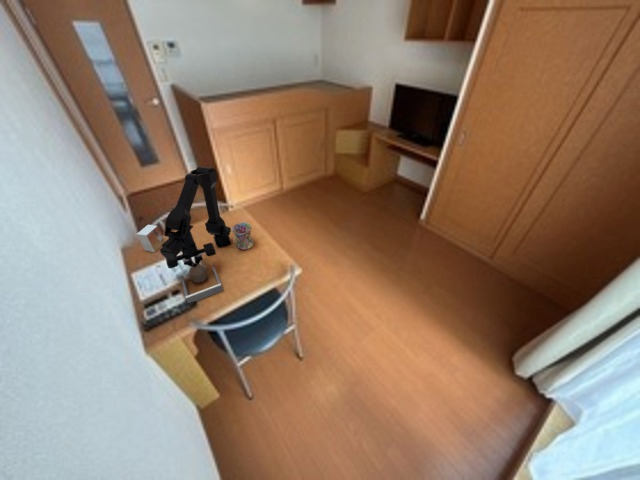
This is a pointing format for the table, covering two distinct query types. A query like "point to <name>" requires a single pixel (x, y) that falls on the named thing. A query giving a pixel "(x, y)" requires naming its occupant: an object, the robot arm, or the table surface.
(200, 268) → the vase
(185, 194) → the robot arm
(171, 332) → the table surface
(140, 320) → the table surface
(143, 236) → the small box
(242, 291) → the table surface
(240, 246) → the mug
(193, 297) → the bay
